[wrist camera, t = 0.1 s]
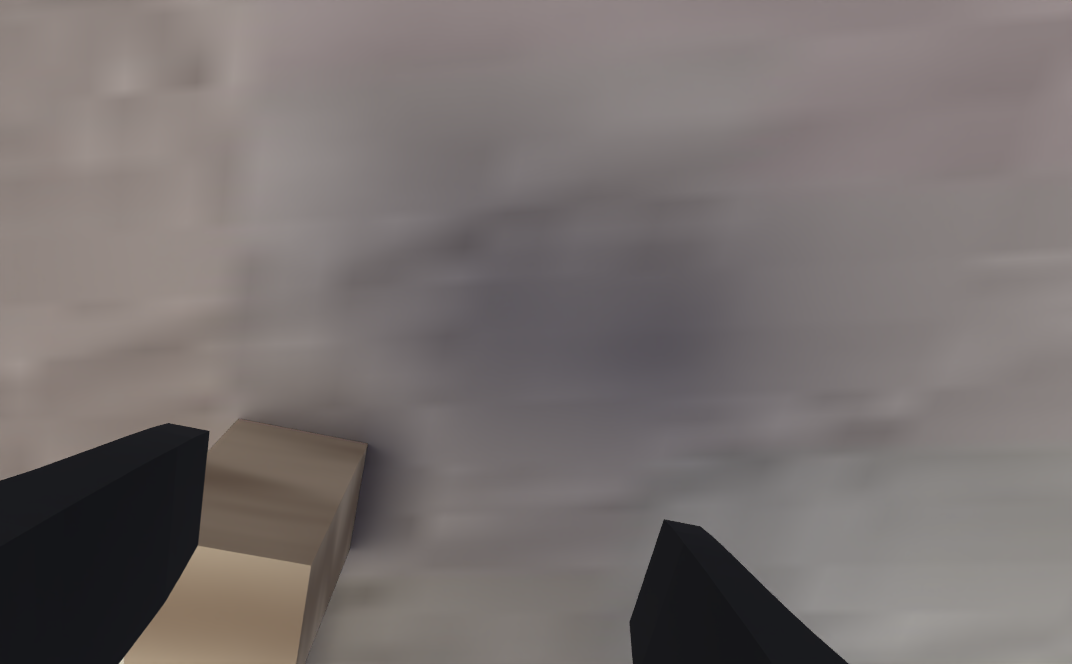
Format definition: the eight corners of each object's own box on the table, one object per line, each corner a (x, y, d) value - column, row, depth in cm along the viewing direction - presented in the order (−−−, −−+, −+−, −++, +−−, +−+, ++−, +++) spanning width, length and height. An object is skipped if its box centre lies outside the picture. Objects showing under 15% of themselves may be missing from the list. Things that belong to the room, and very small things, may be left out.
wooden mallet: (321, 710, 24) (261, 894, 19) (209, 693, 24) (111, 874, 18) (368, 443, 21) (311, 565, 15) (238, 418, 21) (131, 534, 15)
